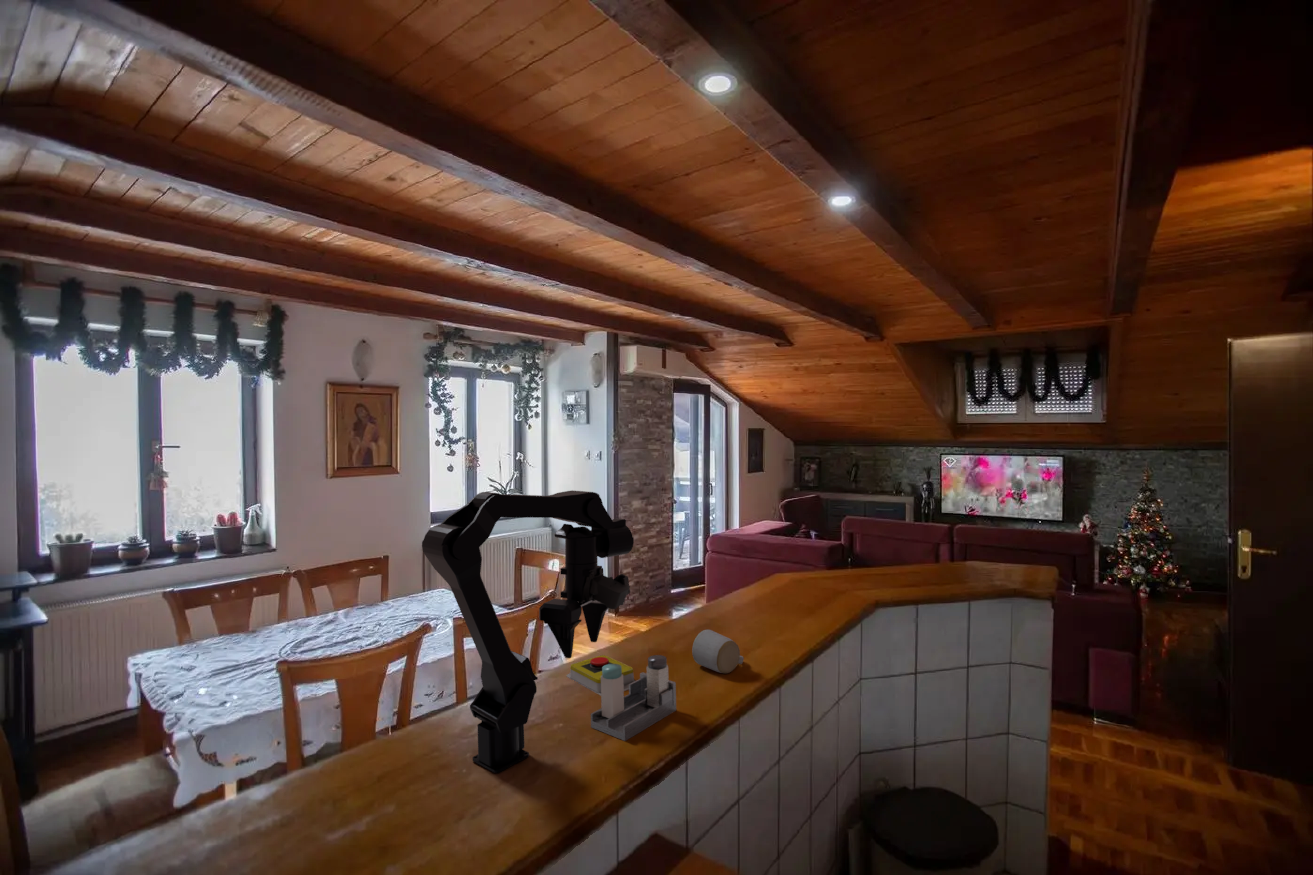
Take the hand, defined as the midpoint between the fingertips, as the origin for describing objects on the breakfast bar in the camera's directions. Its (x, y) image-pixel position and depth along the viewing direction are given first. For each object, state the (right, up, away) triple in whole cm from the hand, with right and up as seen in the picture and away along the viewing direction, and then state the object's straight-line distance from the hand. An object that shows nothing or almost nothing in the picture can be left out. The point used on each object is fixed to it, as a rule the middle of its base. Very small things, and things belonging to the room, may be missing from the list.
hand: (581, 649), depth 109 cm
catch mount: (+9, -13, +1) cm, 16 cm away
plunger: (+6, -11, -1) cm, 13 cm away
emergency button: (+2, -14, +19) cm, 23 cm away
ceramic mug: (+27, -12, +24) cm, 38 cm away
